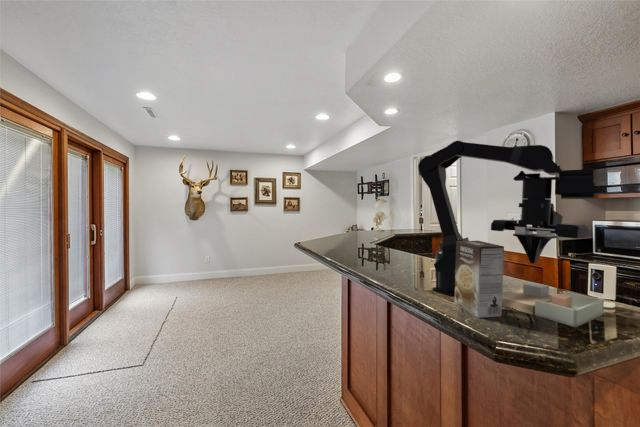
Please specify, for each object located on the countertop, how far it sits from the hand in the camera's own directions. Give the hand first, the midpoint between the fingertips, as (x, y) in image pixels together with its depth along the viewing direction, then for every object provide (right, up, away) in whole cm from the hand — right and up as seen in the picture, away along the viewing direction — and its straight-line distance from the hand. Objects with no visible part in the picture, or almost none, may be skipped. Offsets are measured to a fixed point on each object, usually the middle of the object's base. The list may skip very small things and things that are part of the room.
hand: (533, 263), depth 73 cm
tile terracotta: (+2, -9, -4) cm, 10 cm away
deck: (0, -11, +3) cm, 11 cm away
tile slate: (+3, -9, +4) cm, 10 cm away
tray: (+5, -11, -5) cm, 13 cm away
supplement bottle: (-10, -10, +28) cm, 31 cm away
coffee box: (-15, -11, -2) cm, 19 cm away
